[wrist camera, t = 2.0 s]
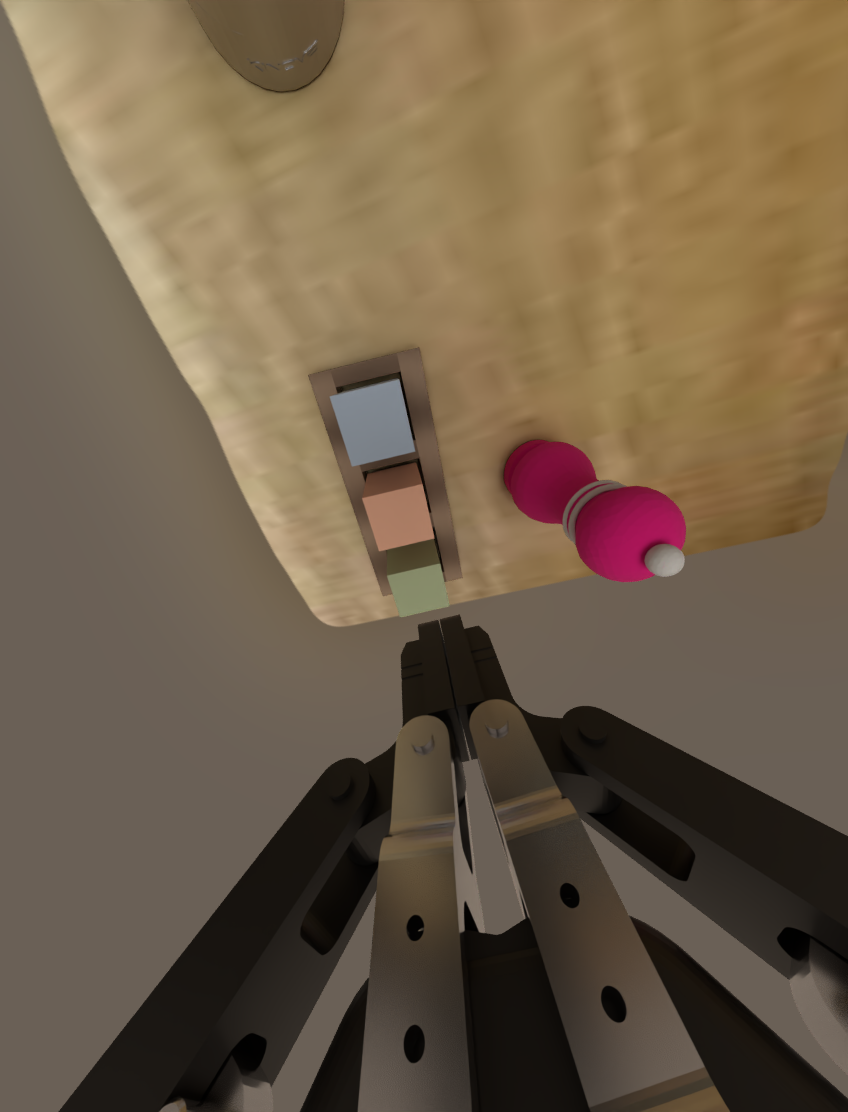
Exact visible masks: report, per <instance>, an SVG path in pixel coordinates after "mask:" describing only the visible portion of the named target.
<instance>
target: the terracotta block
mask: <svg viewBox="0 0 848 1112" xmlns="http://www.w3.org/2000/svg"><path fill="white" fill-rule="evenodd" d="M362 499H363V503H364V506H365V509H366V512H367V515H368V518H369V521H370V524H371V528H372V531H373V534H374V537H375V540H376V543H377V546H378V549H379V551H383V550H387V549H392V548H396V547H400V546H404V545H409V544H413V543H417V542H421V541H426V540H430V539H434V534H433V529H432V525H431V520H430V516H429V511H428V507H427V502H426V498H425V493H424V489H423V484H422V481H421V477H420V474H419V471H418V467H417V464H416V462H414V463H410V464H406V465H402V466H398V467H393V468H389V469H385V470H381V471H377V472H373V473H368V474H367V478H366V483H365V488H364V492H363V497H362Z"/></svg>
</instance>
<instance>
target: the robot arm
mask: <svg viewBox="0 0 848 1112" xmlns="http://www.w3.org/2000/svg"><path fill="white" fill-rule="evenodd" d="M188 2H189V4H190V6H191V7H192V9H193V11H194V13H195V15H196V17H197V19H198V20H199V22H200V24H201V26H202V28H203V29H204V31H205V32H206V34H207V36H208V37H209V39H210V40H211V42H212V43H213V45H214V47H215V48H216V50H217V51H218V52H219V53H220V54H221V55H222V57H223V58H224V59H225V60H226V61H227V62H228V63H229V65H230V66H231V67H232V68H234V69H235V70H236V71H237V72H238V73H240V74H241V75H242V76H243V77H245V78H246V79H247V80H249V81H251V82H253V83H255V84H257V85H259V86H261V87H262V88H266V89H270V90H275V91H289V90H296V89H298V88H300V87H302V86H304V85H307V84H309V83H310V82H311V81H312V80H313V79H314V78H315V77H316V76H318V75H319V74H320V73H321V72H322V70H323V68H324V67H325V65H326V64H327V62H328V61H329V59H330V58H331V56H332V53H333V51H334V48H335V46H336V43H337V40H338V38H339V33H340V29H341V24H342V19H343V13H344V0H188ZM440 623H441V628H442V632H441V628H440V625H439V621H438V620H435V621H431V622H427V623H422V624H419V625H418V631H419V640H416V641H412V642H408V643H406V645H405V647H404V649H403V652H402V654H401V669H402V670H401V675H402V705H403V726H402V729H401V731H400V732H399V734H398V737H397V740H396V742H395V743H394V744H393V745H392V746H391V747H390V748H389V749H388V750H387V751H386V752H384V753H383V754H381V755H379V756H378V757H376V758H374V759H373V760H371V761H369V762H367V763H366V764H364V763H363V762H362V761H360V760H358V759H355V758H346V759H342V760H339V761H337V762H335V763H334V764H332V765H331V766H330V767H328V769H326V770H325V772H324V773H323V774H322V775H321V776H320V778H319V779H318V780H317V782H316V783H315V784H314V785H313V787H312V788H311V789H310V790H309V792H308V793H307V794H306V796H305V797H304V798H303V800H302V801H301V802H300V803H299V805H298V806H297V807H296V808H295V810H294V811H293V812H292V814H291V815H290V816H289V817H288V819H287V820H286V821H285V822H284V824H283V825H282V827H281V828H280V829H279V830H278V831H277V833H276V834H275V835H274V837H273V838H272V839H271V840H270V842H269V843H268V844H267V846H266V847H265V848H264V849H263V851H262V852H261V853H260V854H259V856H258V857H257V858H256V860H255V861H254V862H253V864H252V865H251V866H250V867H249V869H248V870H247V871H246V872H245V874H244V875H243V876H242V878H241V879H240V880H239V881H238V883H237V884H236V885H235V886H234V888H233V889H232V890H231V892H230V893H229V894H228V895H227V897H226V898H225V899H224V901H223V902H222V903H221V904H220V906H219V907H218V908H217V910H216V911H215V912H214V913H213V915H212V916H211V917H210V919H209V920H208V921H207V923H206V924H205V925H204V926H203V928H202V929H201V930H200V931H199V933H198V934H197V935H196V936H195V938H194V939H193V940H192V942H191V943H190V944H189V945H188V947H187V948H186V949H185V951H184V952H183V953H182V954H181V956H180V957H179V958H178V960H177V961H176V962H175V963H174V965H173V966H172V967H171V968H170V970H169V971H168V972H167V974H166V975H165V976H164V977H163V979H162V980H161V981H160V982H159V984H158V985H157V986H156V988H155V989H154V990H153V991H152V993H151V994H150V995H149V997H148V998H147V999H146V1000H145V1002H144V1003H143V1004H142V1006H141V1007H140V1008H139V1010H138V1011H137V1012H136V1013H135V1015H134V1016H133V1017H132V1018H131V1020H130V1021H129V1022H128V1023H127V1025H126V1026H125V1027H124V1029H123V1030H122V1031H121V1032H120V1034H119V1035H118V1036H117V1038H116V1039H115V1040H114V1041H113V1043H112V1044H111V1045H110V1047H109V1048H108V1049H107V1050H106V1052H105V1053H104V1054H103V1055H102V1057H101V1058H100V1059H99V1061H98V1062H97V1063H96V1064H95V1066H94V1067H93V1068H92V1070H91V1071H90V1072H89V1073H88V1075H87V1076H86V1077H85V1079H84V1080H83V1081H82V1082H81V1084H80V1085H79V1086H78V1087H77V1089H76V1090H75V1091H74V1093H73V1094H72V1095H71V1096H70V1098H69V1099H68V1100H67V1102H66V1103H65V1104H64V1105H63V1107H62V1108H61V1109H60V1111H59V1112H273V1097H272V1091H271V1087H272V1085H273V1083H274V1081H275V1079H276V1077H277V1075H278V1074H279V1072H280V1070H281V1068H282V1066H283V1064H284V1062H285V1060H286V1059H287V1057H288V1055H289V1053H290V1051H291V1049H292V1047H293V1045H294V1043H295V1042H296V1040H297V1038H298V1036H299V1034H300V1032H301V1030H302V1029H303V1026H304V1025H305V1023H306V1021H307V1019H308V1017H309V1015H310V1014H311V1012H312V1010H313V1008H314V1006H315V1004H316V1002H317V1000H318V999H319V997H320V995H321V993H322V991H323V989H324V987H325V985H326V984H327V982H328V980H329V978H330V976H331V974H332V972H333V970H334V969H335V967H336V965H337V963H338V961H339V959H340V957H341V955H342V954H343V952H344V950H345V948H346V946H347V944H348V942H349V940H350V939H351V937H352V935H353V933H354V931H355V929H356V927H357V925H358V923H359V922H360V920H361V918H362V916H363V914H364V912H365V910H366V909H367V907H368V905H369V903H370V901H371V899H372V897H373V896H374V894H375V892H376V902H375V912H374V925H373V937H372V949H371V960H370V972H369V978H368V979H367V980H366V981H365V983H364V985H363V986H362V987H361V988H360V990H359V991H358V993H357V994H356V996H355V997H354V999H353V1001H352V1002H351V1004H350V1006H349V1008H348V1009H347V1011H346V1013H345V1015H344V1017H343V1019H342V1021H341V1023H340V1025H339V1027H338V1030H337V1032H336V1034H335V1036H334V1039H333V1041H332V1043H331V1045H330V1047H329V1049H328V1052H327V1054H326V1056H325V1058H324V1060H323V1062H322V1065H321V1067H320V1069H319V1071H318V1073H317V1076H316V1078H315V1080H314V1082H313V1084H312V1086H311V1089H310V1091H309V1093H308V1095H307V1097H306V1100H305V1102H304V1104H303V1106H302V1108H301V1111H300V1112H848V1098H847V1097H845V1096H844V1095H843V1094H842V1093H841V1092H840V1091H839V1090H838V1089H837V1088H836V1087H834V1086H833V1085H832V1084H831V1083H830V1082H829V1081H828V1080H827V1079H826V1078H824V1077H823V1076H822V1075H821V1074H820V1073H819V1072H818V1071H817V1070H816V1069H814V1068H813V1067H812V1066H811V1065H810V1064H809V1063H808V1062H807V1061H806V1060H805V1059H803V1058H802V1057H801V1056H800V1055H799V1054H798V1053H797V1052H796V1051H795V1050H794V1049H792V1048H791V1047H790V1046H789V1045H788V1044H787V1043H786V1042H785V1041H784V1040H782V1039H781V1038H780V1037H779V1036H778V1035H777V1034H776V1033H775V1032H774V1031H773V1030H771V1029H770V1028H769V1027H768V1026H767V1025H766V1024H765V1023H764V1022H762V1021H761V1020H760V1019H759V1018H758V1017H757V1016H756V1015H755V1014H754V1013H752V1011H750V1010H749V1009H748V1008H747V1007H746V1006H745V1005H744V1004H743V1003H741V1002H740V1001H739V1000H738V999H737V998H736V997H735V996H734V995H733V994H732V993H731V992H729V991H728V990H727V989H726V988H725V987H724V986H723V985H722V984H721V983H719V982H718V981H717V980H716V979H715V978H714V977H713V976H712V975H711V974H709V973H708V972H707V971H706V970H705V969H704V968H703V967H702V966H701V965H700V964H698V963H697V962H696V961H695V960H694V959H693V958H692V957H691V956H690V955H688V954H687V953H686V952H685V951H684V950H683V949H682V948H680V947H679V946H678V945H677V944H676V943H674V942H673V941H671V940H670V939H669V938H667V937H666V936H665V935H664V934H662V933H661V932H659V931H658V930H656V929H654V928H653V927H651V926H649V925H648V924H646V923H644V922H642V921H640V920H638V919H636V918H633V917H632V916H629V915H628V913H627V911H626V909H625V907H624V905H623V903H622V901H621V899H620V897H619V895H618V893H617V891H616V889H615V887H614V885H613V883H612V881H611V879H610V877H609V875H608V873H607V871H606V869H605V867H604V865H603V864H602V862H601V859H600V857H599V855H598V853H597V851H596V849H595V847H594V845H593V843H592V842H591V839H590V837H589V835H588V833H587V832H586V829H585V827H584V826H583V824H582V822H581V819H582V820H583V821H584V822H586V823H587V824H588V825H590V826H591V827H592V828H594V829H595V830H596V831H598V832H599V833H600V834H601V835H602V836H604V837H605V838H606V839H608V840H609V841H610V842H612V843H613V844H614V845H615V846H617V847H618V848H619V849H621V850H622V851H623V852H624V853H626V854H627V855H628V856H630V857H631V858H632V859H634V860H635V861H636V862H637V863H639V864H640V865H641V866H643V867H644V868H645V869H647V870H648V871H649V872H650V873H652V874H653V875H654V876H655V877H657V878H658V879H659V880H661V881H662V882H663V883H665V884H666V885H667V886H668V887H670V888H671V889H672V890H674V891H675V892H676V893H677V894H679V895H680V896H681V897H683V898H684V899H685V900H687V901H688V902H689V903H690V904H692V905H693V906H694V907H696V908H697V909H698V910H700V911H701V912H702V913H703V914H705V915H706V916H707V917H709V918H710V919H711V920H712V921H714V922H715V923H716V924H718V925H719V926H720V927H721V928H723V929H724V930H725V931H727V932H728V933H729V934H731V935H732V936H733V937H734V938H736V939H737V940H738V941H740V942H741V943H742V944H744V945H745V946H746V947H747V948H749V949H750V950H751V951H753V952H754V953H755V954H756V955H758V956H759V957H760V958H762V959H763V960H764V961H765V962H767V963H768V964H769V965H771V966H772V967H773V968H775V969H776V970H777V971H778V972H780V973H781V974H782V975H784V976H785V977H787V979H789V980H790V986H791V991H792V994H793V998H794V1001H795V1003H796V1006H797V1008H798V1010H799V1013H800V1015H801V1016H802V1018H803V1020H804V1022H805V1024H806V1026H807V1027H808V1029H809V1030H810V1032H811V1033H812V1035H813V1036H814V1038H815V1039H816V1040H817V1042H818V1043H819V1044H820V1046H821V1047H822V1048H823V1050H824V1051H825V1052H826V1053H827V1054H828V1055H829V1057H830V1058H831V1059H832V1060H833V1061H834V1062H835V1063H836V1064H837V1065H838V1066H839V1067H840V1068H841V1069H842V1070H843V1071H844V1072H845V1073H846V1074H847V1075H848V836H846V835H844V834H842V833H840V832H838V831H836V830H835V829H833V828H831V827H828V826H827V825H825V824H823V823H821V822H819V821H817V820H815V819H813V818H811V817H809V816H807V815H805V814H804V813H802V812H800V811H798V810H796V809H794V808H792V807H790V806H788V805H786V804H784V803H782V802H780V801H778V800H777V799H774V798H773V797H770V796H769V795H767V794H765V793H763V792H761V791H759V790H757V789H755V788H753V787H751V786H749V785H747V784H746V783H744V782H741V781H740V780H738V779H736V778H734V777H732V776H730V775H728V774H726V773H724V772H722V771H720V770H718V769H716V768H715V767H712V766H711V765H709V764H707V763H704V762H703V761H701V760H699V759H697V758H695V757H693V756H691V755H689V754H687V753H686V752H684V751H682V750H680V749H678V748H676V747H674V746H672V745H670V744H668V743H666V742H664V741H662V740H660V739H658V738H656V737H655V736H653V735H651V734H649V733H647V732H645V731H643V730H641V729H639V728H637V727H635V726H633V725H631V724H629V723H627V722H626V721H624V720H622V719H620V718H618V717H616V716H614V715H612V714H610V713H608V712H606V711H604V710H602V709H599V708H596V707H591V706H580V707H576V708H573V709H571V710H569V711H568V712H567V713H566V714H565V715H564V716H563V718H551V717H541V716H536V715H533V714H531V713H528V712H527V711H525V710H523V709H522V708H521V707H519V706H518V704H517V703H516V702H515V701H514V699H513V697H512V695H511V692H510V690H509V687H508V685H507V682H506V679H505V677H504V674H503V672H502V669H501V666H500V664H499V661H498V659H497V656H496V653H495V651H494V649H493V645H492V643H491V640H490V638H489V635H488V634H487V633H486V632H485V631H484V630H483V629H482V628H480V627H479V626H475V627H471V628H466V629H464V627H463V624H462V620H461V617H460V615H456V616H452V617H447V618H443V619H440ZM442 633H443V636H442ZM443 638H444V640H443ZM463 729H464V731H463ZM464 733H465V736H464ZM465 737H466V740H467V744H468V748H469V751H470V755H471V759H472V760H473V759H477V758H478V762H479V766H480V770H481V774H482V778H483V781H484V785H485V789H486V792H487V796H488V799H489V803H490V806H491V809H492V812H493V815H494V819H495V822H496V826H497V829H498V832H499V835H500V839H501V842H502V846H503V849H504V852H505V855H506V859H507V862H508V865H509V869H510V872H511V875H512V879H513V882H514V886H515V890H516V893H517V896H518V900H519V903H520V907H521V910H522V913H523V917H524V920H523V921H521V922H520V923H518V924H516V925H515V926H513V927H512V928H510V929H509V930H507V931H506V932H504V933H502V934H499V935H492V934H487V933H485V929H484V921H483V914H482V908H481V901H480V896H479V891H478V886H477V879H476V872H475V863H474V854H473V845H472V837H471V828H470V819H469V811H468V810H469V809H468V801H467V793H466V781H465V776H464V770H463V765H462V762H465V761H469V756H468V751H467V747H466V741H465Z"/></svg>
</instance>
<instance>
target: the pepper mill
mask: <svg viewBox="0 0 848 1112" xmlns="http://www.w3.org/2000/svg"><path fill="white" fill-rule="evenodd" d="M504 481H505V485H506V487H507V489H508V490H509V492H510V493H511V494H512V497H513V500H514V502H515V504H516V505H517V507H518V508H519V509H520V510H521V511H522V512H523V513H524V514H526V515H527V516H528V517H530V518H532V519H534V520H537V521H540V522H543V523H551V524H562V525H563V529H564V532H565V534H566V536H567V537H568V538H569V539H570V540H571V541H573V542H574V544H575V545H576V547H577V550H578V553H579V556H580V558H581V559H582V560H583V562H584V563H585V564H586V565H587V566H588V567H589V568H590V569H591V570H592V571H594V572H595V573H597V574H598V575H600V576H603V577H605V578H607V579H610V580H614V581H619V582H634V581H640V580H644V579H647V578H650V577H652V576H654V575H658V576H664V577H665V576H671V575H674V574H676V573H678V572H679V571H680V570H681V569H682V567H683V565H684V555H683V553H682V551H681V549H682V547H683V545H684V542H685V535H686V525H685V521H684V517H683V515H682V512H681V511H680V509H679V508H678V506H677V505H676V504H675V503H674V502H673V501H672V500H671V499H670V498H668V497H667V496H666V495H664V494H662V493H661V492H659V491H656V490H653V489H651V488H648V487H641V486H630V487H627V486H625V485H622V484H621V483H619V482H616V481H611V480H601V481H599V480H597V479H596V474H595V471H594V468H593V466H592V463H591V462H590V460H589V459H588V457H587V456H586V455H585V454H584V453H583V452H582V451H581V450H579V449H578V448H576V447H574V446H573V445H570V444H568V443H563V442H548V441H545V440H533V441H529V442H527V443H525V444H523V445H521V446H520V447H518V448H517V449H516V450H515V451H514V452H513V453H512V454H511V456H510V457H509V459H508V461H507V463H506V466H505V470H504Z"/></svg>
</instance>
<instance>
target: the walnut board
mask: <svg viewBox="0 0 848 1112" xmlns="http://www.w3.org/2000/svg"><path fill="white" fill-rule="evenodd" d="M397 372H400V375H401V379H402V384H403V389H404V393H405V398H406V402H407V407H408V411H409V416H410V420H411V425H412V430H413V434H414V435H412V439H413V444H414V448H415V452H411V453H407V454H403V455H398V456H394V457H390V458H386V459H382V460H378V461H374V462H369V463H365V464H361V465H357V466H353V467H352V465H351V462H350V459H349V456H348V453H347V449H346V446H345V443H344V440H343V437H342V434H341V431H340V428H339V424H338V421H337V418H336V415H335V412H334V409H333V406H332V403H331V399H330V396H333V395H335V394H338V393H340V392H342V390H341V387H340V386H344V385H348V384H352V383H356V382H360V381H364V380H368V379H372V378H376V377H380V376H384V375H389V374H393V373H397ZM308 377H309V379H310V382H311V385H312V388H313V391H314V394H315V397H316V400H317V403H318V406H319V409H320V412H321V415H322V418H323V421H324V424H325V427H326V430H327V433H328V436H329V438H330V441H331V444H332V447H333V450H334V453H335V456H336V459H337V462H338V465H339V468H340V471H341V474H342V477H343V480H344V483H345V486H346V489H347V492H348V495H349V497H350V500H351V503H352V506H353V509H354V512H355V515H356V518H357V521H358V524H359V527H360V530H361V533H362V536H363V539H364V542H365V545H366V548H367V551H368V554H369V556H370V559H371V562H372V565H373V568H374V571H375V574H376V577H377V580H378V583H379V586H380V589H381V592H382V595H383V596H386V595H391V594H393V593H392V590H391V587H390V584H389V581H388V578H387V550H383V551H379V549H378V546H377V543H376V540H375V537H374V534H373V531H372V528H371V524H370V521H369V518H368V515H367V512H366V509H365V506H364V503H363V499H362V497H363V492H364V488H365V483H366V478H367V473H366V471H367V470H372V469H376V468H380V467H384V466H388V465H392V464H397V463H401V462H405V461H409V460H413V459H417V458H419V461H420V466H421V471H422V475H423V480H424V484H425V489H426V493H427V498H428V503H427V507H428V511H429V516H430V520H431V525H432V528H433V527H434V530H435V534H436V539H437V543H438V548H439V553H440V557H441V558H440V559H439V561H440V565H441V569H442V574H443V578H444V582H447V581H451V580H455V579H460V578H463V577H462V572H461V567H460V561H459V556H458V551H457V545H456V540H455V535H454V529H453V524H452V519H451V514H450V508H449V503H448V498H447V492H446V487H445V482H444V477H443V471H442V466H441V461H440V455H439V450H438V445H437V439H436V434H435V429H434V424H433V418H432V413H431V408H430V402H429V397H428V392H427V387H426V381H425V376H424V371H423V365H422V360H421V355H420V349H419V348H415V349H411V350H407V351H403V352H399V353H395V354H391V355H387V356H383V357H379V358H375V359H370V360H366V361H362V362H358V363H354V364H350V365H346V366H342V367H338V368H334V369H330V370H326V371H322V372H318V373H314V374H310V375H308Z"/></svg>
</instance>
